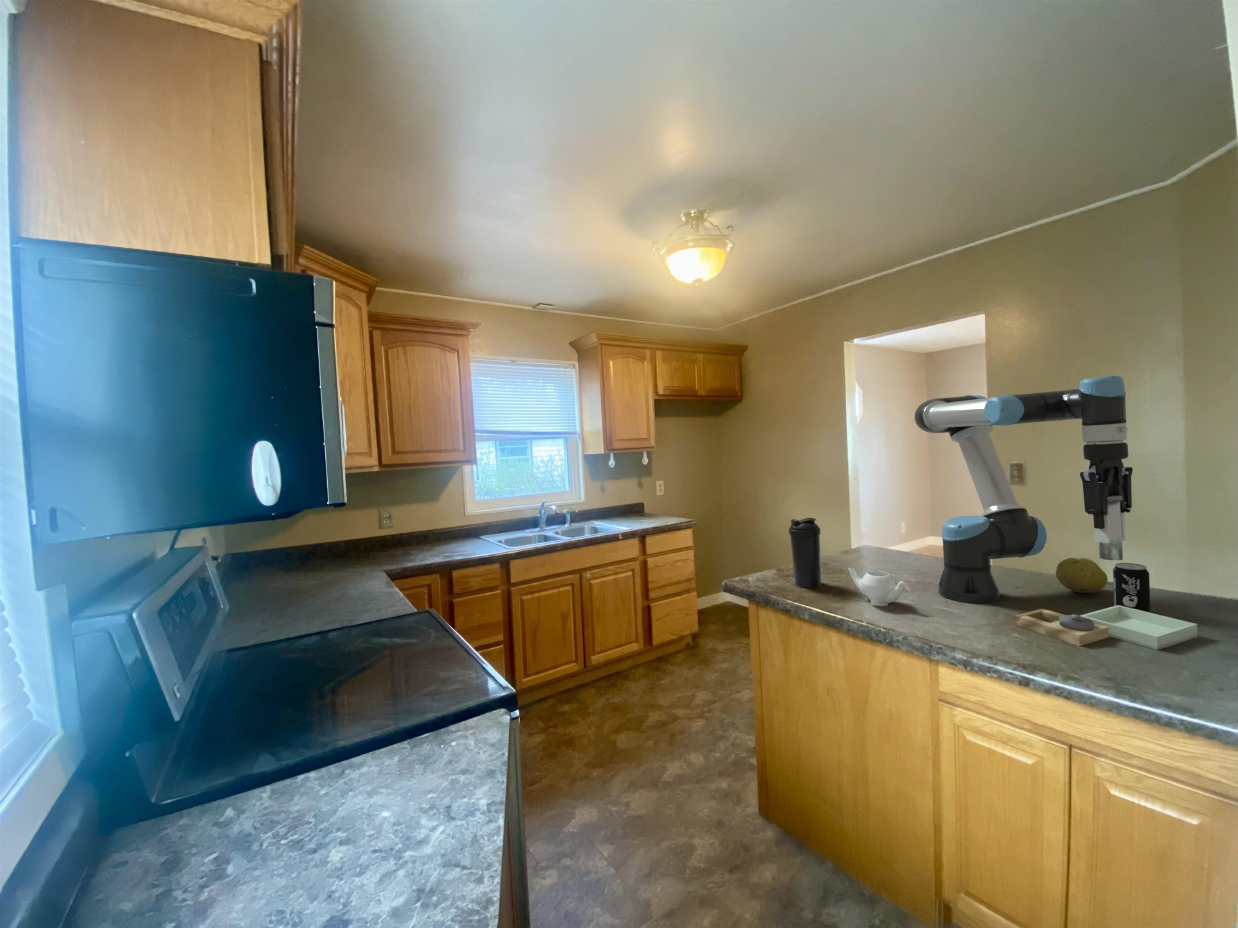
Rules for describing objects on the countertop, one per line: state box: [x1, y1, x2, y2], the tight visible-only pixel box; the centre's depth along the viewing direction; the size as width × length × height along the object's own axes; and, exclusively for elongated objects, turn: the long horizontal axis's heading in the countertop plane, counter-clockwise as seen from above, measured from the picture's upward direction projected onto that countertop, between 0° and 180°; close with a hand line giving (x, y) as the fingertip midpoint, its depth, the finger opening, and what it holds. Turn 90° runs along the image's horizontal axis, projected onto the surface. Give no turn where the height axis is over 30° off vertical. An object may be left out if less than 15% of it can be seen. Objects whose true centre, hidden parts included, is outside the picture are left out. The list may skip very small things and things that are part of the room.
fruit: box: [1055, 557, 1108, 594], centre depth 144 cm, size 11×12×10 cm
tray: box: [1079, 605, 1199, 651], centre depth 118 cm, size 14×14×3 cm
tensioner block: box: [1014, 608, 1110, 647], centre depth 122 cm, size 14×10×5 cm
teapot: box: [847, 566, 912, 607], centre depth 149 cm, size 10×20×9 cm, turn 28°
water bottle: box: [788, 517, 822, 589], centre depth 172 cm, size 10×10×23 cm
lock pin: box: [1098, 494, 1124, 561], centre depth 117 cm, size 5×5×15 cm
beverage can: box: [1112, 562, 1151, 613], centre depth 129 cm, size 7×7×12 cm
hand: (1110, 540), depth 118 cm, fingers closed on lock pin, 4 cm apart
